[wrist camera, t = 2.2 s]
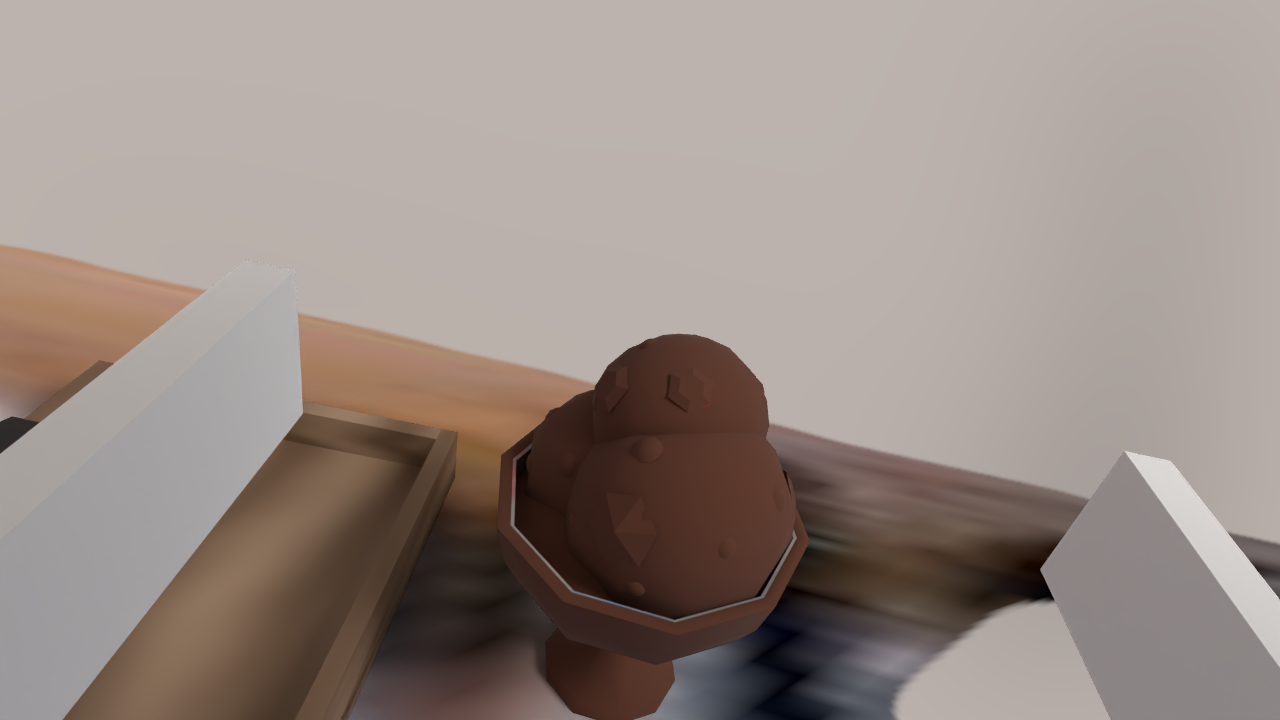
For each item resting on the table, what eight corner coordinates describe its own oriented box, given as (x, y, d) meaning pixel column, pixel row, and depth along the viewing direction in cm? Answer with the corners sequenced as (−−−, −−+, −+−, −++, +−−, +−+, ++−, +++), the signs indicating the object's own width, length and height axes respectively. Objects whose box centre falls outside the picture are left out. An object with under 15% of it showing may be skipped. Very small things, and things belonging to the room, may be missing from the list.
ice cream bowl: (447, 591, 33) (466, 291, 25) (671, 541, 38) (749, 276, 30) (518, 839, 25) (580, 524, 17) (788, 737, 30) (935, 453, 22)
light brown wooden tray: (454, 477, 39) (457, 432, 37) (291, 847, 24) (284, 799, 22) (111, 409, 38) (99, 360, 37) (-271, 743, 24) (-319, 686, 22)
